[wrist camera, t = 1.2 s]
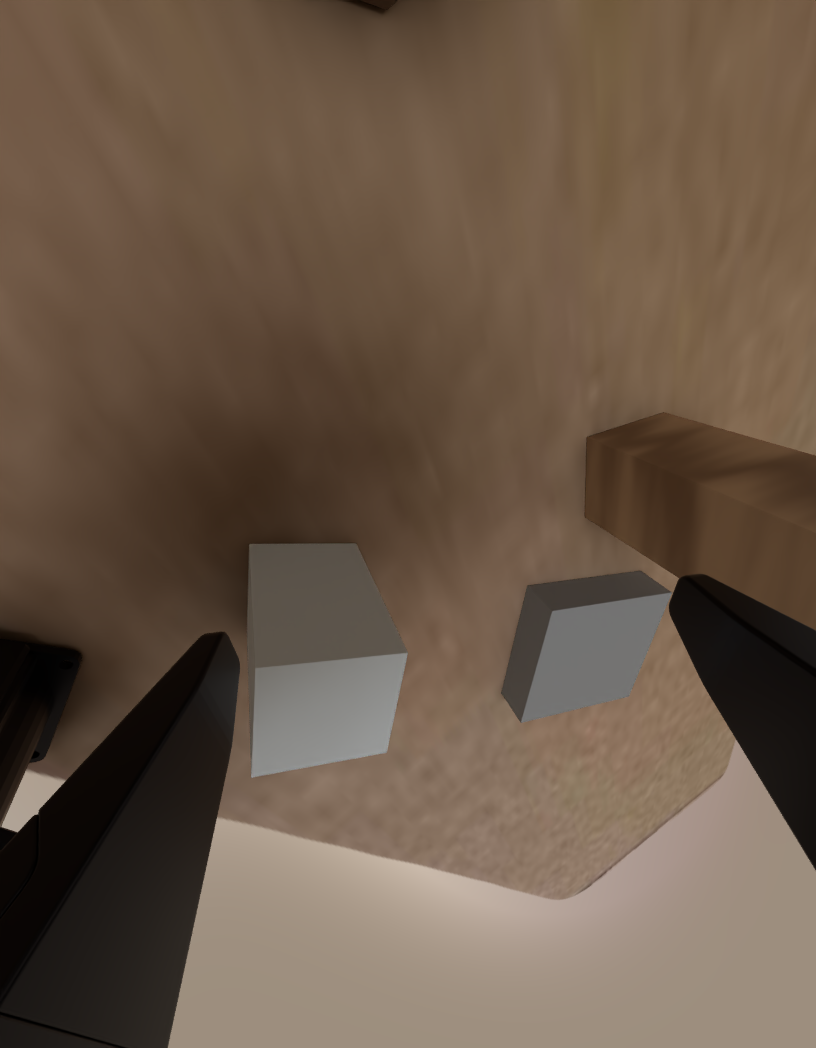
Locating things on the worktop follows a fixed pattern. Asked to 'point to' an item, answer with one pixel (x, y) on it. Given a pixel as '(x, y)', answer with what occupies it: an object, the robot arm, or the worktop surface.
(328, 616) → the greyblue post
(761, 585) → the walnut post
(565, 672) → the greyblue square slab
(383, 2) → the beer bottle
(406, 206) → the worktop surface
